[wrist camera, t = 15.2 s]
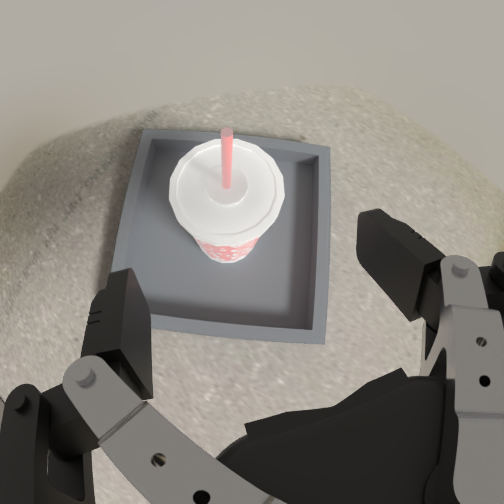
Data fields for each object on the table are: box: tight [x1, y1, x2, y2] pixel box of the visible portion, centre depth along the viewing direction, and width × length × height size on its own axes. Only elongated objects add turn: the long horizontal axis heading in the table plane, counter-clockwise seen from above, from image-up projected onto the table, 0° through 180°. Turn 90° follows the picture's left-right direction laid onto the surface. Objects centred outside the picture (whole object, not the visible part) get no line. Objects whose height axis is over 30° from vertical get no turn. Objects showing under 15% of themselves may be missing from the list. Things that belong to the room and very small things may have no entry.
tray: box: [111, 129, 331, 344], centre depth 24 cm, size 16×16×2 cm
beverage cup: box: [169, 127, 285, 263], centre depth 18 cm, size 6×6×14 cm
